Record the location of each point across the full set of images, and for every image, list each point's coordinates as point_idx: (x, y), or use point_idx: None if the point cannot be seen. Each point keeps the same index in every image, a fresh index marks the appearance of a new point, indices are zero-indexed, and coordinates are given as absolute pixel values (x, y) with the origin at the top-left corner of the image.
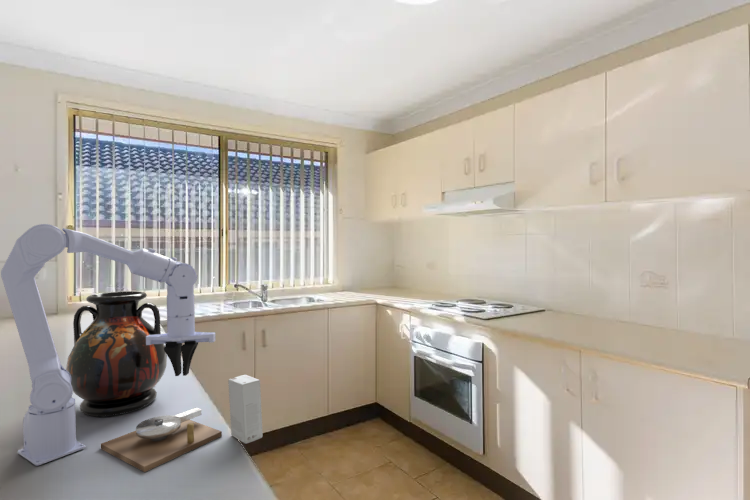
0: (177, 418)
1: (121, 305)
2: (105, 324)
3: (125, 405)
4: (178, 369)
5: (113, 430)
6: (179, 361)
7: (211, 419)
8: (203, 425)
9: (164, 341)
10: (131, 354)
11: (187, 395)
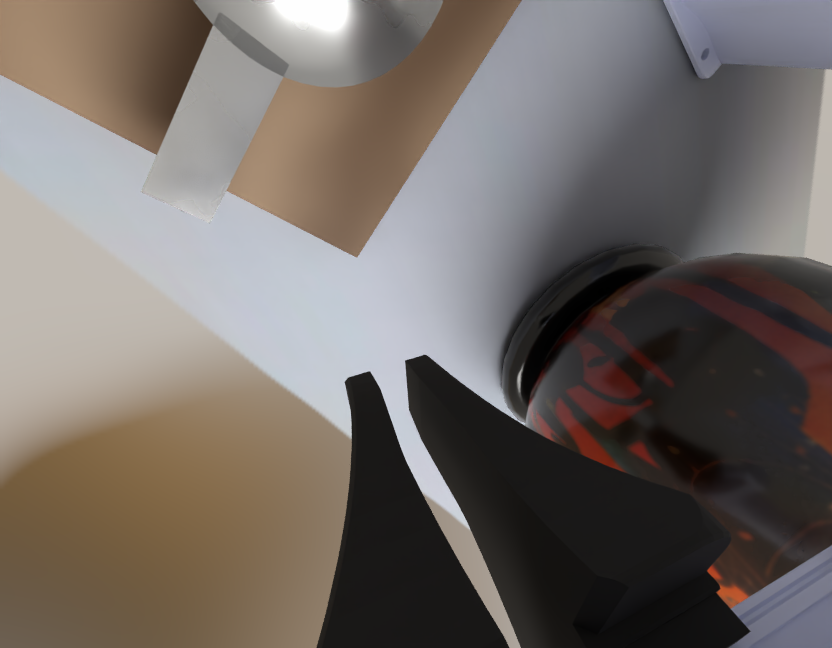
0: (221, 9)
1: None
2: None
3: (577, 291)
4: (426, 402)
5: (561, 137)
6: (456, 476)
7: (167, 260)
8: (103, 119)
9: (760, 641)
10: (771, 444)
11: (411, 433)
